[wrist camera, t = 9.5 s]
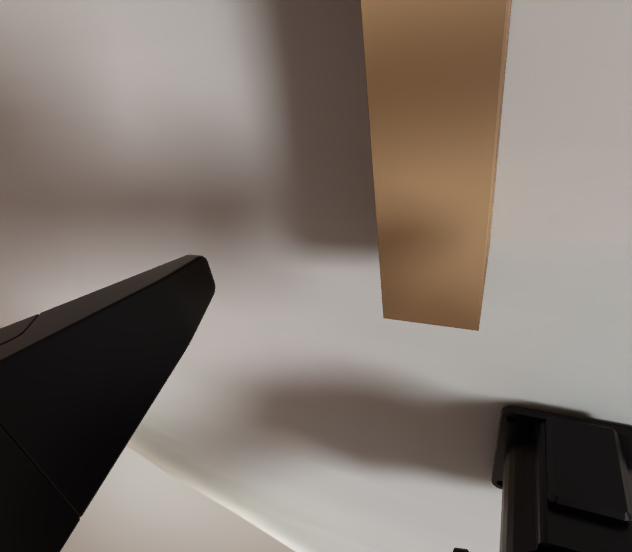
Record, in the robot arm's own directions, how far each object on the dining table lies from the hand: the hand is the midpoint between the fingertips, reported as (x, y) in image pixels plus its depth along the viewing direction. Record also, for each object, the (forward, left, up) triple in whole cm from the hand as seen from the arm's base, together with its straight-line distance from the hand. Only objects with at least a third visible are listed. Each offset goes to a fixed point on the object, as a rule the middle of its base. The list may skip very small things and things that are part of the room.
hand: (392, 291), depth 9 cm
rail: (+3, 0, -9) cm, 9 cm away
